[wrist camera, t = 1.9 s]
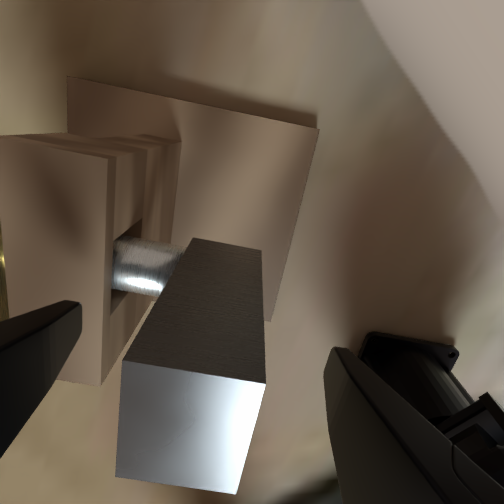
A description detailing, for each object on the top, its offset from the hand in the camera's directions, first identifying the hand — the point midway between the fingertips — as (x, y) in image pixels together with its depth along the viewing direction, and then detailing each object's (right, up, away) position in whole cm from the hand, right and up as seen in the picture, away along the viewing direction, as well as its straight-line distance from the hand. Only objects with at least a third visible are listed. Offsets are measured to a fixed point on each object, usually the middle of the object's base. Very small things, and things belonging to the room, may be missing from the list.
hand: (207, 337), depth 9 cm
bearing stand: (-3, +5, +11) cm, 12 cm away
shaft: (-4, +2, +4) cm, 6 cm away
